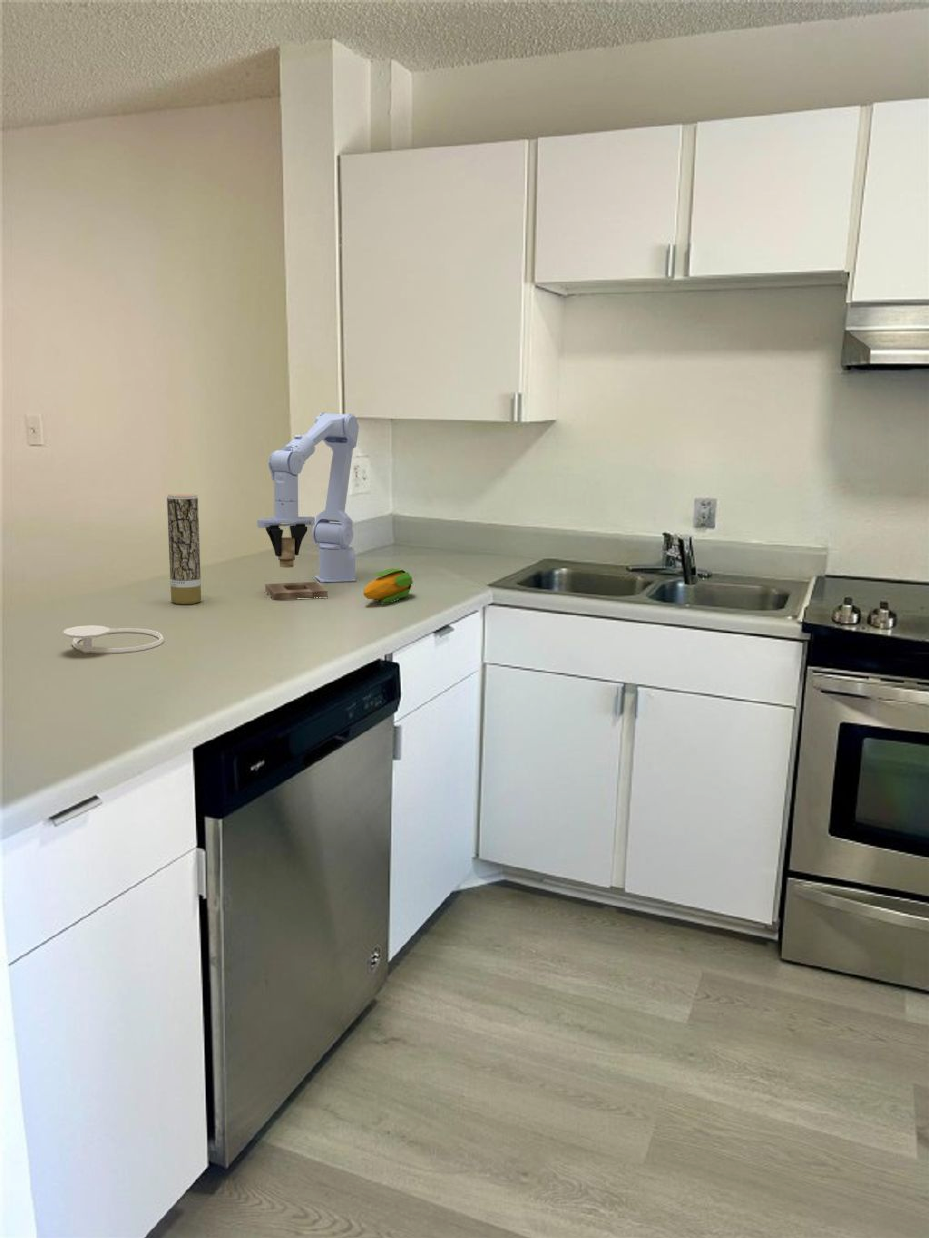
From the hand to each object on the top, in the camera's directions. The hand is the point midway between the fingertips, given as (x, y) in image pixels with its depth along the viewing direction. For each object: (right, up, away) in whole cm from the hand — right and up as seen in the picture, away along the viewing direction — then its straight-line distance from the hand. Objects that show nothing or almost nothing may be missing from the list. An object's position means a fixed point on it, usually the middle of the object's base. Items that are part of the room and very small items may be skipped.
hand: (286, 555), depth 226 cm
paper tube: (-21, -12, -11) cm, 27 cm away
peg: (0, -3, +1) cm, 3 cm away
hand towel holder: (-24, -21, -49) cm, 59 cm away
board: (+2, -10, +1) cm, 10 cm away
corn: (+25, -12, -2) cm, 28 cm away
